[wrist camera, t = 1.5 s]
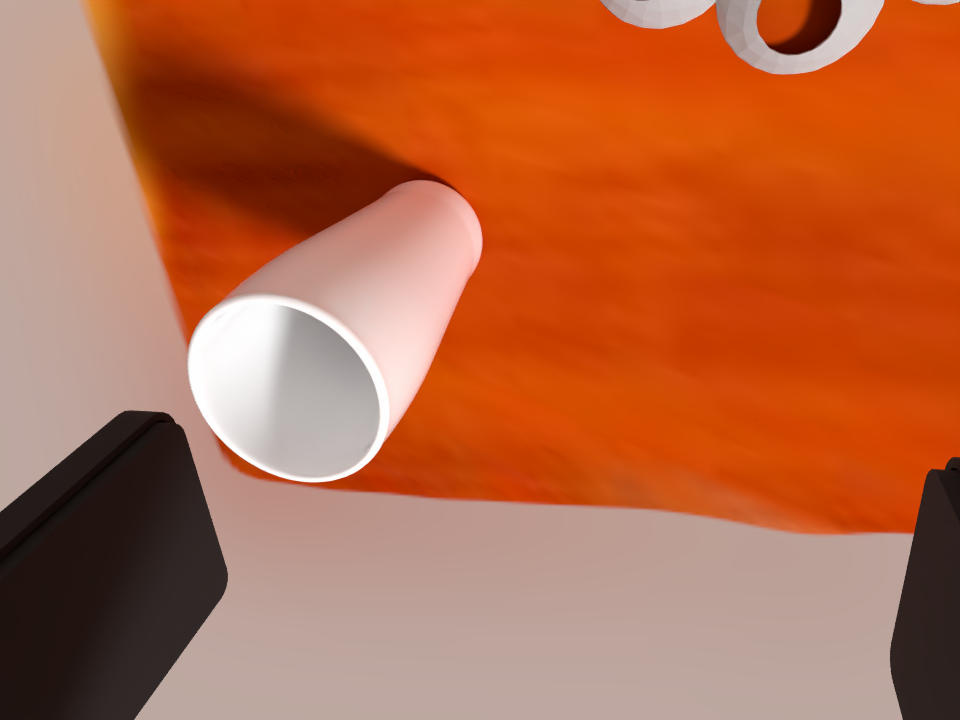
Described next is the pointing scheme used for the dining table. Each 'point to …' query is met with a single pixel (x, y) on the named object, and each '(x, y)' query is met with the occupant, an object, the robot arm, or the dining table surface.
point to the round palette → (737, 4)
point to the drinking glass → (335, 334)
